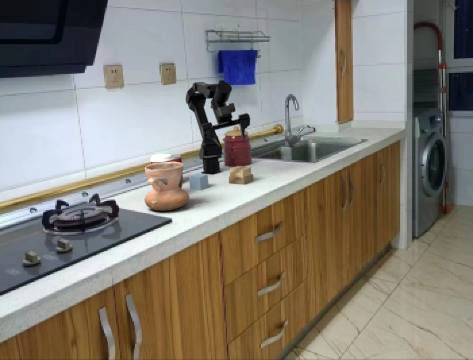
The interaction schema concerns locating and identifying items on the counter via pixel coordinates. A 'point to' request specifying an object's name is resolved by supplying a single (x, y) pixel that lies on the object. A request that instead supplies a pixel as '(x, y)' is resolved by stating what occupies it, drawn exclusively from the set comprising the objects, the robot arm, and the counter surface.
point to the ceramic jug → (165, 186)
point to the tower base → (241, 180)
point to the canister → (237, 148)
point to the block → (198, 181)
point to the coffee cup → (161, 158)
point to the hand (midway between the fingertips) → (232, 143)
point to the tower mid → (240, 171)
